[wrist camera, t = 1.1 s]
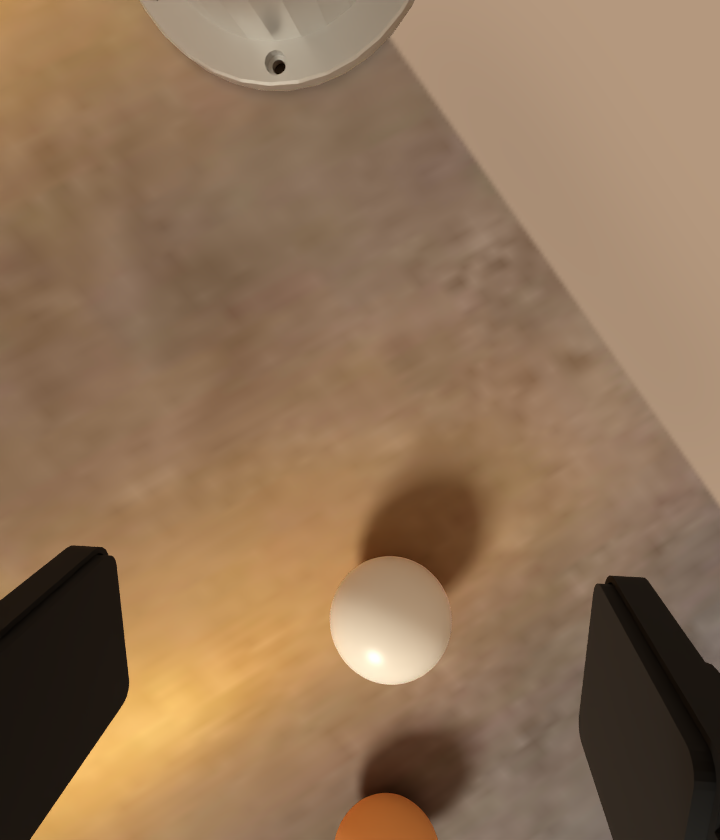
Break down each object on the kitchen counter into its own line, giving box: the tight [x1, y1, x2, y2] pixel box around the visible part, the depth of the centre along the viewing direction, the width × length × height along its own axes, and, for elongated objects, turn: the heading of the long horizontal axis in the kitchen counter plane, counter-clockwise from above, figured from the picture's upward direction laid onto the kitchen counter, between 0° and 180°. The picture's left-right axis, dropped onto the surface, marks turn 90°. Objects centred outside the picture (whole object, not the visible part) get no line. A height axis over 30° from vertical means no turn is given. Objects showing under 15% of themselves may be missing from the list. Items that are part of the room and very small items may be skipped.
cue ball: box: [330, 556, 452, 685], centre depth 28 cm, size 6×6×6 cm
